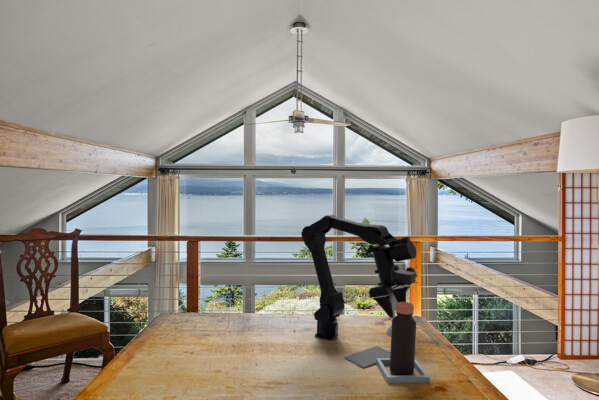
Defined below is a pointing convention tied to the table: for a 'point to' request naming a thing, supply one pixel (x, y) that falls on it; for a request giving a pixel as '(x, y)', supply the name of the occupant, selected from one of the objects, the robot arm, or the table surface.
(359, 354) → the mat
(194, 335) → the table surface
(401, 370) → the vinegar
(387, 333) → the chalice
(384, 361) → the bottle holder
